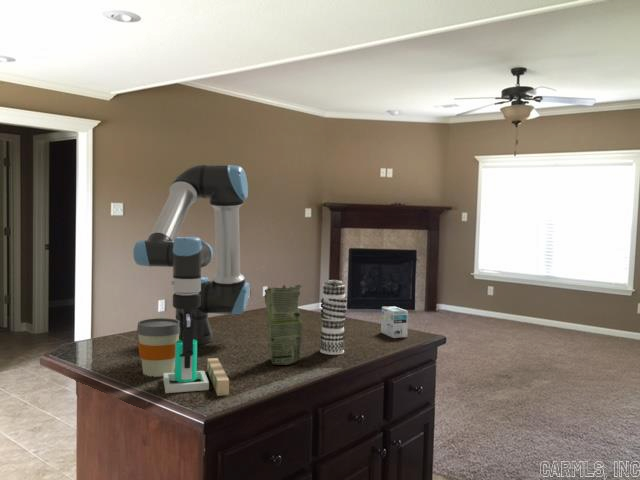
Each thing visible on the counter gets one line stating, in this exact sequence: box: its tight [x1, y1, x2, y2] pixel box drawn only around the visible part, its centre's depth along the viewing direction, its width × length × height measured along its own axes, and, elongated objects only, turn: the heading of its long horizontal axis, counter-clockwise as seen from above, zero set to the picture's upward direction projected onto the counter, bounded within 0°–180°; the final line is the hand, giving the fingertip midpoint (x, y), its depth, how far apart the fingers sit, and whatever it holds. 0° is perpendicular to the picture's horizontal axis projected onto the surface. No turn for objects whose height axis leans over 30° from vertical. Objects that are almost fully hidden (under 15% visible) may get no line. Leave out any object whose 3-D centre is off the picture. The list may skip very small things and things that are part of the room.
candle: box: [174, 339, 198, 383], centre depth 154 cm, size 6×6×12 cm
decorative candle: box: [319, 279, 348, 356], centre depth 194 cm, size 9×9×25 cm
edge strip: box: [206, 357, 230, 397], centre depth 157 cm, size 22×3×4 cm, turn 18°
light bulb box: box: [380, 305, 409, 339], centre depth 223 cm, size 11×7×11 cm, turn 22°
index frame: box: [162, 370, 210, 394], centre depth 154 cm, size 11×11×2 cm
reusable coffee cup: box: [136, 317, 180, 378], centre depth 165 cm, size 13×13×15 cm
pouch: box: [264, 284, 303, 366], centre depth 180 cm, size 11×12×25 cm
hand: (185, 375), depth 154 cm, fingers closed on candle, 5 cm apart
